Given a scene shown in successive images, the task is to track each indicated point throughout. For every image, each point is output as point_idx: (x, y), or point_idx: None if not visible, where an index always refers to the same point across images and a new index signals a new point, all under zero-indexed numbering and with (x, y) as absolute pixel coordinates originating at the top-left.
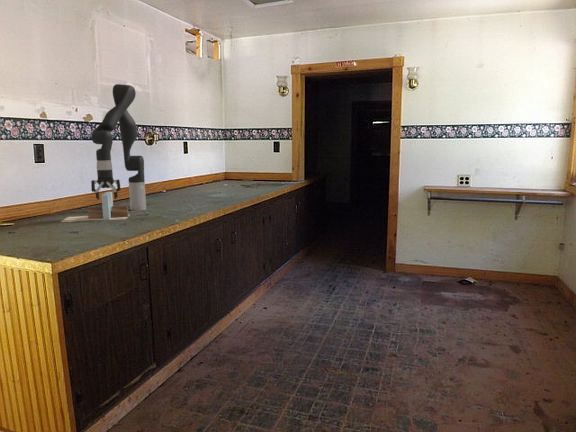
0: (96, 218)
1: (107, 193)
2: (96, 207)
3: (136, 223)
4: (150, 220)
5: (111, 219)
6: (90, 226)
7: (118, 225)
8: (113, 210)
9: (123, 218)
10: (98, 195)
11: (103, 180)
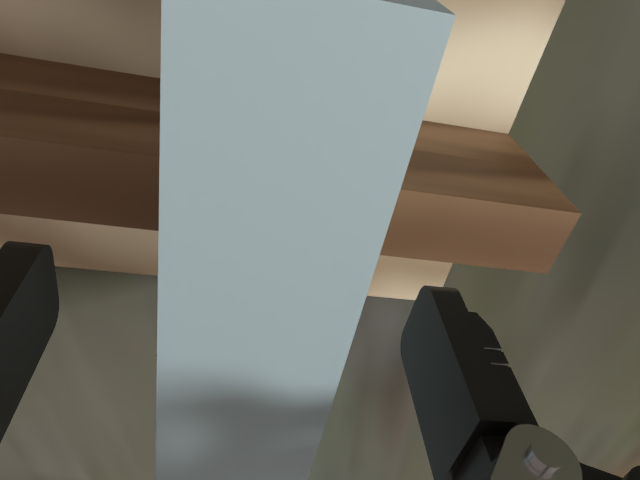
0: None
1: (260, 410)
2: (55, 217)
3: None
4: (631, 310)
5: None
6: (124, 391)
7: (343, 411)
8: None
9: (419, 261)
10: (19, 399)
11: None
